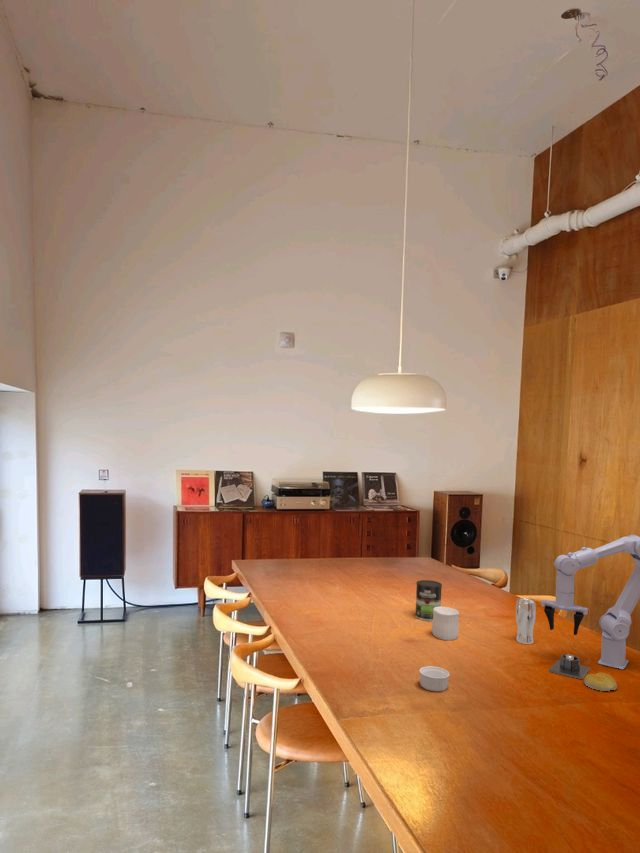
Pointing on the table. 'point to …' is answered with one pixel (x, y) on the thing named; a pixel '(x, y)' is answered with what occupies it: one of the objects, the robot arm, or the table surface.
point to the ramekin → (434, 678)
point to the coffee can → (427, 599)
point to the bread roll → (600, 681)
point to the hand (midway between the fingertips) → (563, 631)
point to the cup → (445, 623)
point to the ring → (570, 663)
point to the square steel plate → (559, 670)
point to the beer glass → (525, 620)
